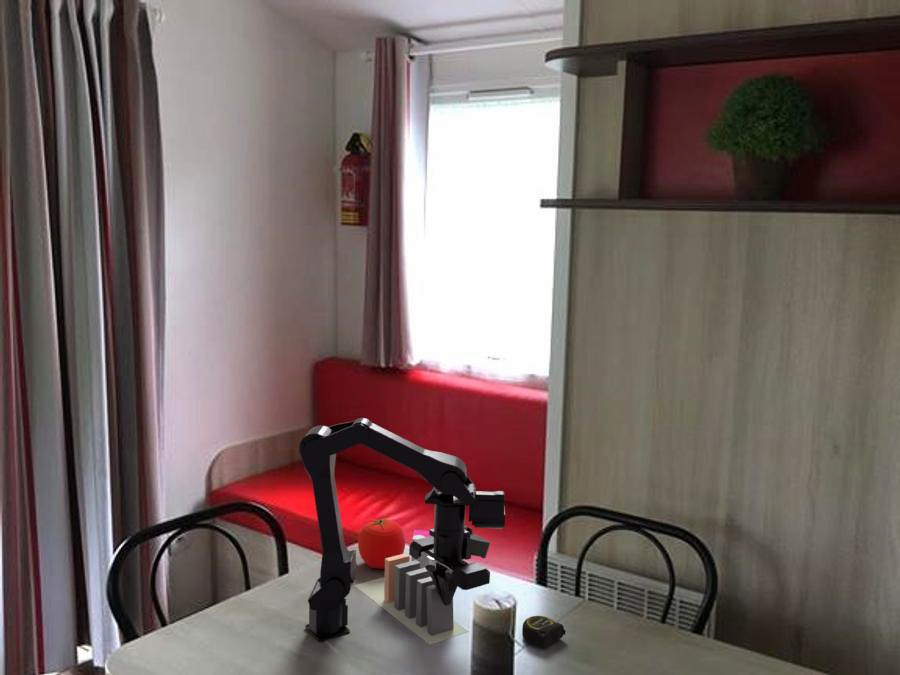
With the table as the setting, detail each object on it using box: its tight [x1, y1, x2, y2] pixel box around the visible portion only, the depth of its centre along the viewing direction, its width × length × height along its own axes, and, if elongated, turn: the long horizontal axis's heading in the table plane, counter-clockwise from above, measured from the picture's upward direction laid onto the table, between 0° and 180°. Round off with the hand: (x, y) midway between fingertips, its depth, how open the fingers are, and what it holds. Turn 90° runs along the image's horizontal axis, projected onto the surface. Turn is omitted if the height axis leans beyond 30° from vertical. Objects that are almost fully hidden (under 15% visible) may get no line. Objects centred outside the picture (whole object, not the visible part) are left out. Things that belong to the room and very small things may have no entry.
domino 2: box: [394, 560, 420, 611], centre depth 163 cm, size 5×2×9 cm, turn 126°
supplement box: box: [410, 529, 431, 569], centre depth 173 cm, size 6×6×12 cm
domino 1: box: [384, 552, 411, 603], centre depth 166 cm, size 5×2×9 cm, turn 126°
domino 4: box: [416, 577, 434, 627], centre depth 157 cm, size 5×2×9 cm, turn 126°
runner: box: [353, 576, 469, 646], centre depth 163 cm, size 9×29×1 cm, turn 36°
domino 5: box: [427, 585, 454, 636], centre depth 154 cm, size 5×2×9 cm, turn 126°
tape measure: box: [521, 615, 567, 649], centre depth 152 cm, size 7×7×4 cm
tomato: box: [357, 517, 406, 570], centre depth 183 cm, size 10×11×11 cm
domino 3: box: [405, 568, 430, 619], centre depth 160 cm, size 5×2×9 cm, turn 126°
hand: (446, 604), depth 152 cm, fingers closed
